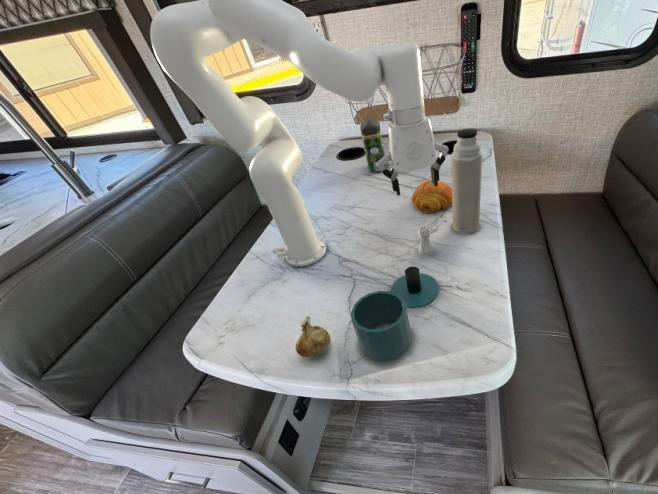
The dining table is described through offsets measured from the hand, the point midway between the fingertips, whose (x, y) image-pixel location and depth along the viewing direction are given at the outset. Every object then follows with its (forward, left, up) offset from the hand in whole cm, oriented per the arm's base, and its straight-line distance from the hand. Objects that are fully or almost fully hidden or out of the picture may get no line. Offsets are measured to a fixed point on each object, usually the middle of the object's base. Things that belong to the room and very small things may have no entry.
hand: (416, 188), depth 84 cm
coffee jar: (-3, +63, -20) cm, 66 cm away
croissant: (+11, +25, -20) cm, 33 cm away
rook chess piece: (+1, -1, -20) cm, 20 cm away
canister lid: (-6, -16, -19) cm, 26 cm away
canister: (-16, -30, -20) cm, 39 cm away
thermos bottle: (+16, +7, -20) cm, 26 cm away
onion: (-32, -27, -20) cm, 47 cm away
